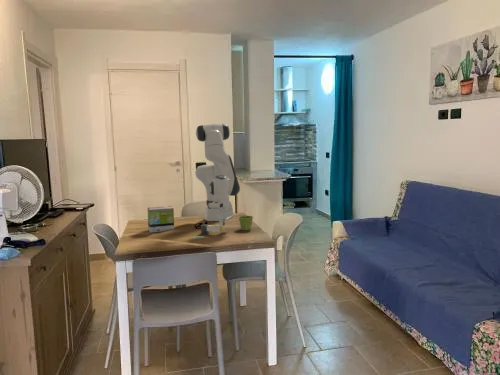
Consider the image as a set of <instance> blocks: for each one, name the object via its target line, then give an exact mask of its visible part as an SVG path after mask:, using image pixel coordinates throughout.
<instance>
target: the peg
mask: <svg viewBox="0 0 500 375" xmlns="http://www.w3.org/2000/svg"><path fill="white" fill-rule="evenodd" d="M210 232H214V233H216V232H217V233H223V232H224V226H220V225H210V224H201V225H200V234H201V235H209V234H210Z"/></svg>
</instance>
